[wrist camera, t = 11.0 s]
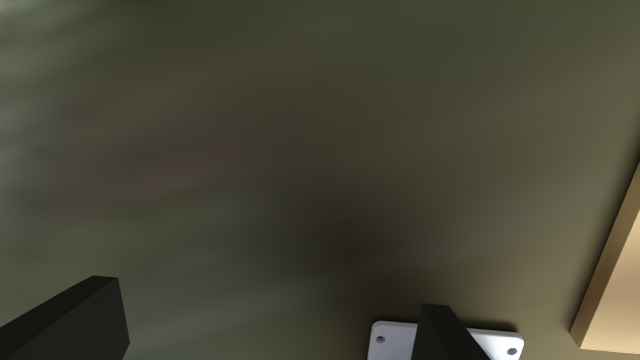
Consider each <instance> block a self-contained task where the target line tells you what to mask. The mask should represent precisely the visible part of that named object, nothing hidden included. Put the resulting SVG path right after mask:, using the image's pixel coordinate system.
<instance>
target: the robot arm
mask: <svg viewBox="0 0 640 360" xmlns="http://www.w3.org/2000/svg"><path fill="white" fill-rule="evenodd" d="M378 336H382V338H378ZM129 344H130V340H129V335H128V329H127V324H126V318H125V313H124V308H123V302H122V297H121V291H120V286H119V281H118V278H115V277H104V276H91V277H89V278H87V279H85V280H83V281H81V282H80V283H78V284H76V285H74V286H72V287H70V288H69V289H67V290H65V291H63V292H61V293H60V294H58V295H56V296H54V297H53V298H51V299H49V300H47V301H46V302H44V303H42V304H40V305H39V306H37V307H35V308H34V309H32V310H30V311H28V312H26V313H25V314H23V315H21V316H19V317H18V318H16V319H14V320H12V321H11V322H9V323H7V324H5V325H4V326H2V327H0V360H122V359H123V356H124V354H125V352H126V350H127V348H128V346H129ZM523 345H524V341H523V339H522V337H521V335H520V334H518V333H515V332H505V331H493V330H482V329H470V328H466V327H465V326H464V325H463V323H462V322H461V321H460V320H459V318H458V317H457V316H456V314H455V313H454V312H453V311H452V310H451V308H450V307H449V306H445V305H433V304H422V305H421V310H420V315H419V320H418V324H413V323H401V322H390V321H378V322H375V323H374V324H373V326H372V329H371V337H370V344H369V351H368V358H367V360H519V357H520V354H521V351H522V348H523ZM510 348H512V349H510Z"/></svg>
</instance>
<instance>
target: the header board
mask: <svg viewBox="0 0 640 360" xmlns="http://www.w3.org/2000/svg"><path fill="white" fill-rule="evenodd" d="M569 334H570V335H571V337H572V338H573V340H574V341H575V343H576V344H577V345H578V347H579V348H580V349H590V350H602V351H613V352H624V353H636V354H640V162H639V164H638V167H637V169H636V171H635V174H634V176H633V179H632V181H631V184H630V186H629V189H628V191H627V194H626V196H625V198H624V201H623V203H622V206H621V208H620V211H619V213H618V216H617V218H616V220H615V223H614V225H613V228H612V230H611V233H610V235H609V238H608V240H607V243H606V245H605V247H604V250H603V252H602V255H601V257H600V260H599V262H598V265H597V267H596V269H595V272H594V274H593V277H592V279H591V282H590V284H589V287H588V289H587V291H586V294H585V296H584V299H583V301H582V304H581V306H580V309H579V311H578V314H577V316H576V318H575V321H574V323H573V326H572V328H571V331H570V333H569Z"/></svg>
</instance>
